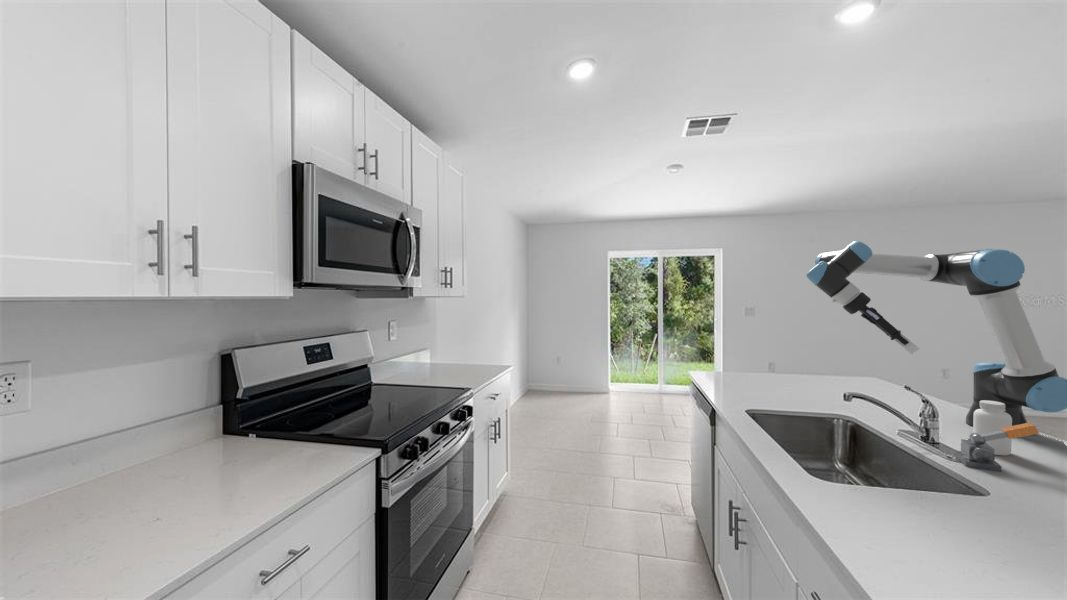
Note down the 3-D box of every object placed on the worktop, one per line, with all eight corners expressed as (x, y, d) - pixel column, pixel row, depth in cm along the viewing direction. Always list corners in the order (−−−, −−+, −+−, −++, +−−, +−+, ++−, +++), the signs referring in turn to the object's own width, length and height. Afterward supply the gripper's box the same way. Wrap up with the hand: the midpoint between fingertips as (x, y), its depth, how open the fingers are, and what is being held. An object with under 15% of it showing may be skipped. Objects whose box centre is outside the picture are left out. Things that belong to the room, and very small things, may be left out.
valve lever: (972, 437, 119) (1034, 425, 113) (967, 434, 121) (1028, 421, 115) (976, 445, 118) (1039, 434, 112) (972, 442, 121) (1033, 430, 115)
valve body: (965, 466, 118) (966, 446, 117) (954, 455, 125) (954, 436, 125) (1001, 471, 114) (1001, 450, 114) (987, 460, 122) (987, 440, 121)
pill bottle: (966, 447, 131) (967, 400, 130) (982, 444, 133) (983, 398, 133) (1000, 457, 123) (1002, 407, 123) (1017, 454, 126) (1019, 404, 125)
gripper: (838, 305, 150) (898, 355, 142) (844, 307, 138) (910, 361, 131) (857, 290, 147) (919, 341, 139) (865, 291, 135) (933, 345, 128)
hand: (915, 351), depth 135 cm, fingers closed
